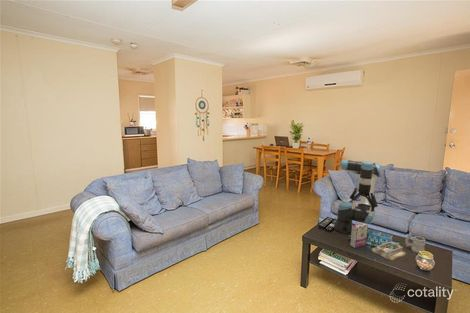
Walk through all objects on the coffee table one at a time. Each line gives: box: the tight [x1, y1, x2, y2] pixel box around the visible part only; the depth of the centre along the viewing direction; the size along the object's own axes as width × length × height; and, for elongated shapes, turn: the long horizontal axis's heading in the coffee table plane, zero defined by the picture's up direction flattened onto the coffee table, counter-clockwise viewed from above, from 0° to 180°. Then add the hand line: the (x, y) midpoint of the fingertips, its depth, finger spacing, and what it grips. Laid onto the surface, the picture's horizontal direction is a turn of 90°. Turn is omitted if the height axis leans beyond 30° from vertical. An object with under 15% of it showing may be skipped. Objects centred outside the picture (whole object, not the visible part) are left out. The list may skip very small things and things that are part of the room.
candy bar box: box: [349, 222, 369, 249], centre depth 180 cm, size 11×5×16 cm, turn 114°
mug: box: [404, 232, 426, 254], centre depth 176 cm, size 8×12×12 cm, turn 46°
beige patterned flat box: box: [371, 241, 407, 262], centre depth 172 cm, size 14×17×4 cm
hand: (361, 212), depth 177 cm, fingers open, 13 cm apart
